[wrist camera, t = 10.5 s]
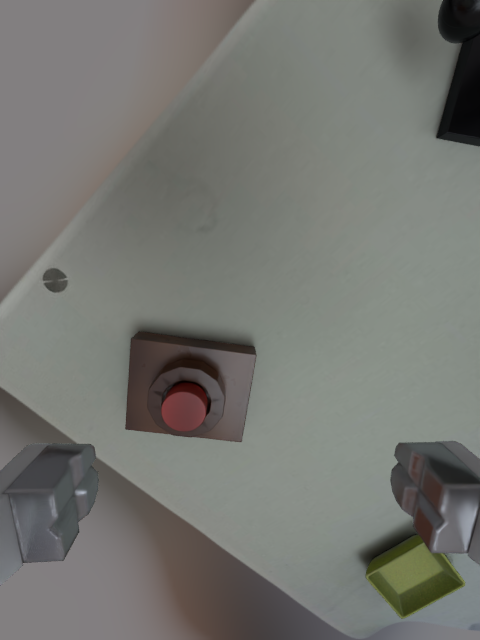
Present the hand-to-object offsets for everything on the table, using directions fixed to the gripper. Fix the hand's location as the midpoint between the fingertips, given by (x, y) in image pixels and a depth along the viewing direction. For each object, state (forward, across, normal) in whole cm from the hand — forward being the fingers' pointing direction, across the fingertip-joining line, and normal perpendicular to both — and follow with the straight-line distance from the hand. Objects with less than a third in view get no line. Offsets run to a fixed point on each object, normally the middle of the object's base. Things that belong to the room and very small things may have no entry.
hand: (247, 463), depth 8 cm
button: (+16, +4, +7) cm, 18 cm away
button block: (+19, +4, +7) cm, 21 cm away
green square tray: (+19, -21, +31) cm, 42 cm away
